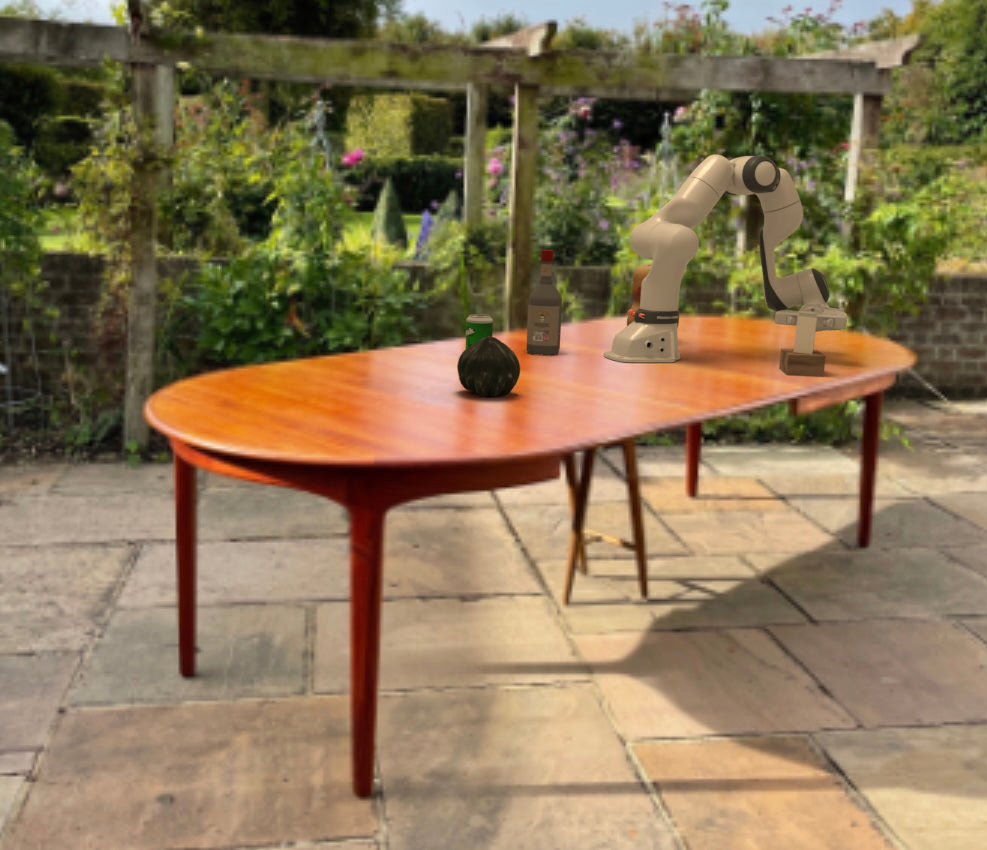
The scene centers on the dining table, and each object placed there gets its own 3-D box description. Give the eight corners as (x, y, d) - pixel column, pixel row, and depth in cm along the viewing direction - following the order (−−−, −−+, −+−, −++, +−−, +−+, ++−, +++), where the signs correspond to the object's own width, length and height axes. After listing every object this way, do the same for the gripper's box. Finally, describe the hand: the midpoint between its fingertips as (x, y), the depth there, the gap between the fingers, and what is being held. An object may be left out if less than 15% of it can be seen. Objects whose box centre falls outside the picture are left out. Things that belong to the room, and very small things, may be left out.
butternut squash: (619, 342, 346) (623, 263, 340) (634, 337, 357) (639, 260, 352) (660, 347, 340) (666, 266, 334) (674, 342, 351) (680, 263, 345)
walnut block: (823, 377, 299) (825, 355, 298) (786, 376, 299) (788, 354, 298) (814, 370, 309) (816, 349, 307) (779, 369, 309) (781, 348, 308)
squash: (491, 362, 272) (467, 321, 262) (539, 373, 263) (516, 331, 253) (461, 405, 266) (436, 365, 256) (509, 417, 257) (484, 376, 247)
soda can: (492, 356, 314) (494, 314, 311) (490, 360, 306) (491, 317, 304) (466, 354, 314) (468, 313, 312) (463, 359, 307) (464, 316, 304)
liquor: (556, 356, 317) (560, 252, 310) (525, 354, 319) (529, 250, 312) (560, 351, 326) (565, 249, 319) (530, 349, 327) (534, 248, 320)
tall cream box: (812, 354, 299) (817, 314, 297) (793, 352, 301) (798, 312, 298) (813, 351, 304) (818, 312, 302) (794, 349, 306) (799, 310, 303)
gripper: (777, 304, 327) (772, 309, 314) (849, 308, 320) (846, 314, 308) (775, 324, 328) (770, 330, 316) (846, 330, 322) (844, 336, 309)
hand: (809, 322), depth 312 cm, fingers open, 8 cm apart
